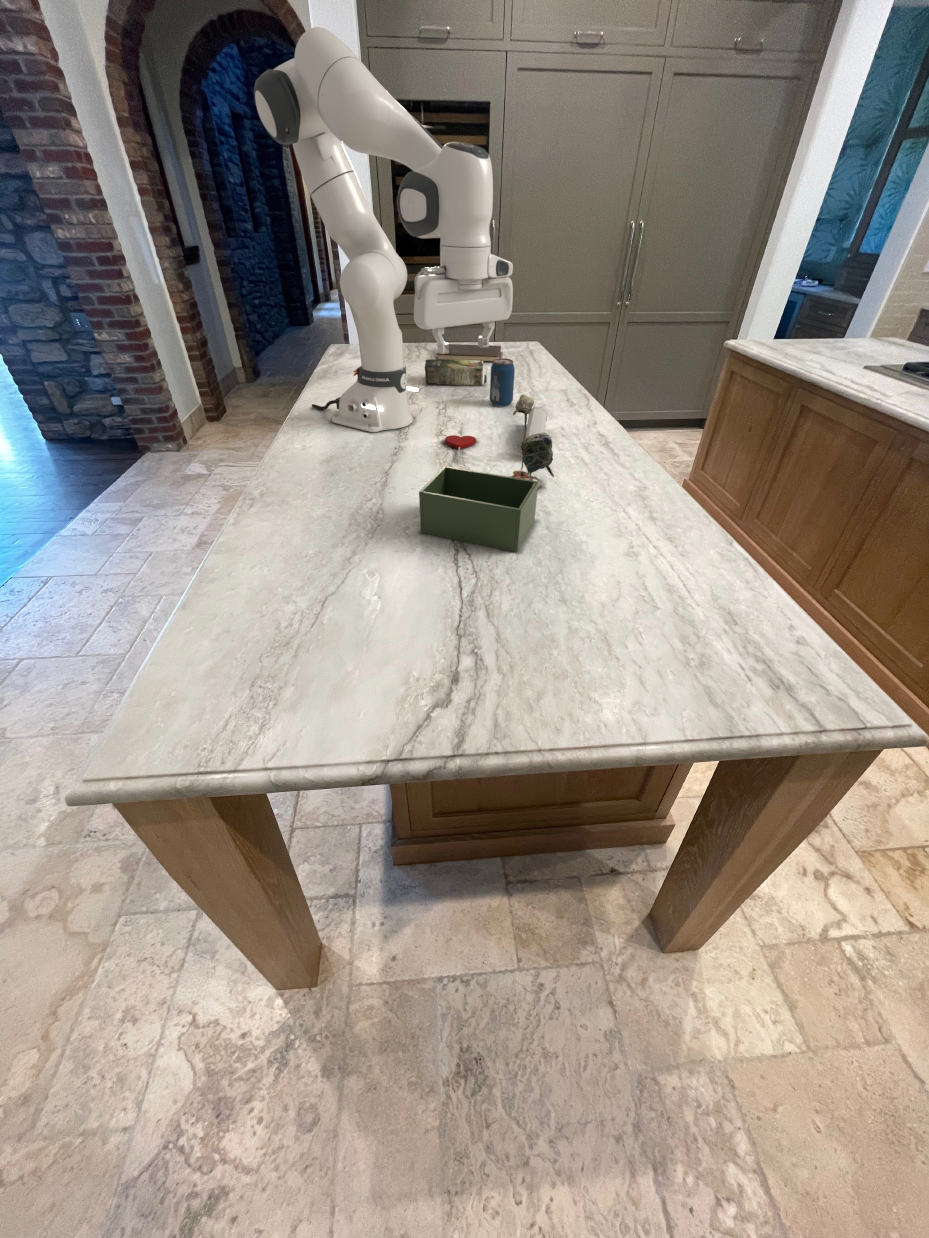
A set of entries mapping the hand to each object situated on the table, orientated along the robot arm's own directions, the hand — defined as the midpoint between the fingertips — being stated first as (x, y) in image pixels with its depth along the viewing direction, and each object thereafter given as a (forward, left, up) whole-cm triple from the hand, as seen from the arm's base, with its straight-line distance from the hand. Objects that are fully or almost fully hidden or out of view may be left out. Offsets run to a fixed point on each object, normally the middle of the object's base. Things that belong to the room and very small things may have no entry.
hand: (463, 350), depth 104 cm
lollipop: (-7, +15, -27) cm, 32 cm away
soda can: (-8, +53, -27) cm, 60 cm away
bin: (+10, -19, -27) cm, 34 cm away
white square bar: (+9, +27, -27) cm, 39 cm away
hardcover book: (-36, +102, -27) cm, 112 cm away
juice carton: (-29, +69, -27) cm, 80 cm away
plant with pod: (+14, +2, -27) cm, 31 cm away
